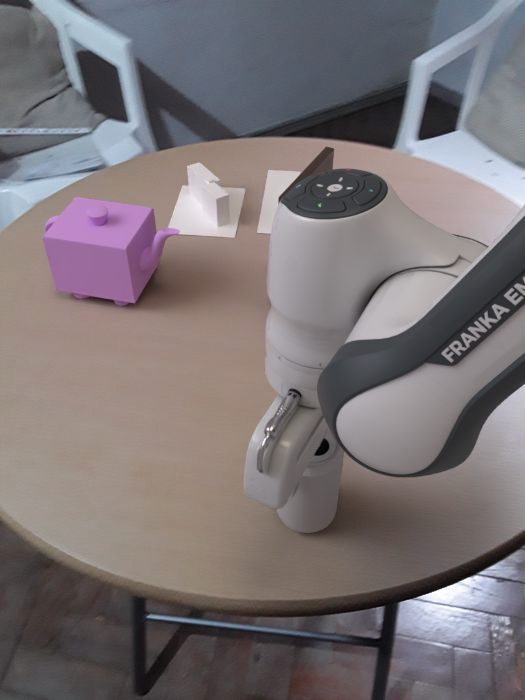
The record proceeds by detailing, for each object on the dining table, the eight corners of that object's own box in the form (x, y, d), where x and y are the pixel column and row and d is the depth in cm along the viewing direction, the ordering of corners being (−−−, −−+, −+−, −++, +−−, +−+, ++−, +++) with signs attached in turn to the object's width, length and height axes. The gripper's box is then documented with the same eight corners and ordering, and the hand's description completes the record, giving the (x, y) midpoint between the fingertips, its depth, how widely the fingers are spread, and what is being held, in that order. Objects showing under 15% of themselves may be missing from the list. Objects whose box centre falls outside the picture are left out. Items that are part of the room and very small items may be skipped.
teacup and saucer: (335, 185, 119) (337, 164, 117) (334, 210, 114) (336, 189, 111) (285, 183, 120) (286, 162, 117) (282, 207, 114) (282, 186, 112)
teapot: (42, 295, 98) (21, 222, 89) (73, 254, 105) (56, 182, 96) (174, 318, 94) (165, 244, 86) (196, 274, 101) (190, 201, 93)
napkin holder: (181, 185, 120) (178, 155, 116) (245, 188, 119) (245, 158, 115) (165, 234, 109) (162, 203, 105) (236, 237, 108) (235, 206, 104)
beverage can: (309, 548, 69) (316, 480, 61) (263, 511, 72) (263, 441, 64) (347, 508, 73) (359, 438, 64) (301, 474, 76) (307, 404, 67)
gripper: (298, 460, 49) (290, 556, 58) (394, 297, 62) (374, 398, 71) (222, 427, 51) (226, 525, 60) (331, 277, 64) (320, 377, 73)
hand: (307, 455), depth 66 cm, fingers open, 8 cm apart
